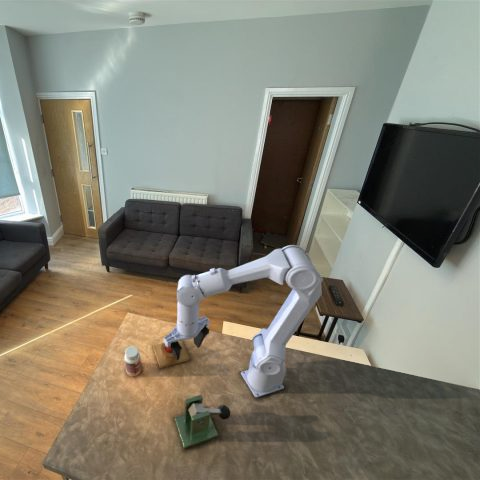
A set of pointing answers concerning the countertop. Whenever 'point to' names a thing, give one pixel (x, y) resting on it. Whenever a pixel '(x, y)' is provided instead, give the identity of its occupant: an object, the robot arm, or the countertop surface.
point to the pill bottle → (132, 361)
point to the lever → (210, 410)
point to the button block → (169, 355)
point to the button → (168, 349)
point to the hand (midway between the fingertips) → (186, 351)
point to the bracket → (195, 425)
